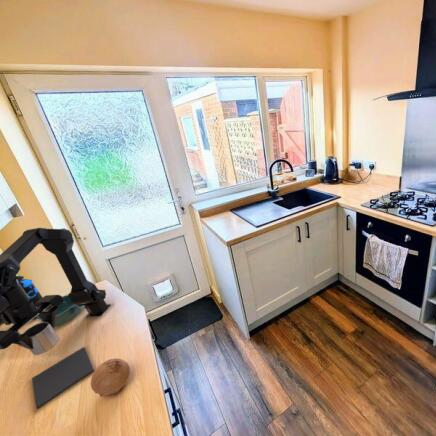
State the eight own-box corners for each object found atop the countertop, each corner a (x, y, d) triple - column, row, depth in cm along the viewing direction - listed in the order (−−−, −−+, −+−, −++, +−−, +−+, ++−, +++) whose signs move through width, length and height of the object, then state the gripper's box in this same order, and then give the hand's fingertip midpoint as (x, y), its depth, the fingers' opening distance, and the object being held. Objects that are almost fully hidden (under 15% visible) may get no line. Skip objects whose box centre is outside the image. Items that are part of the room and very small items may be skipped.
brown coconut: (134, 383, 78) (139, 359, 76) (105, 410, 69) (110, 384, 67) (111, 368, 80) (116, 344, 77) (80, 392, 71) (84, 367, 69)
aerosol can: (23, 324, 104) (-6, 287, 95) (31, 312, 110) (4, 276, 102) (47, 316, 107) (21, 279, 98) (53, 304, 114) (30, 269, 105)
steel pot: (65, 336, 82) (54, 321, 79) (46, 354, 76) (34, 338, 73) (46, 337, 82) (35, 322, 79) (26, 355, 76) (14, 339, 73)
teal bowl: (92, 302, 112) (87, 293, 110) (66, 328, 99) (59, 318, 97) (63, 304, 113) (57, 295, 110) (33, 330, 100) (26, 320, 98)
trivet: (33, 379, 80) (31, 378, 80) (84, 348, 89) (83, 346, 89) (37, 409, 71) (36, 407, 71) (94, 371, 80) (93, 369, 80)
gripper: (21, 282, 80) (46, 317, 87) (-53, 329, 63) (-16, 368, 70) (53, 279, 80) (75, 315, 86) (-14, 326, 63) (20, 367, 69)
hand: (42, 339), depth 78 cm, fingers closed on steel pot, 6 cm apart
